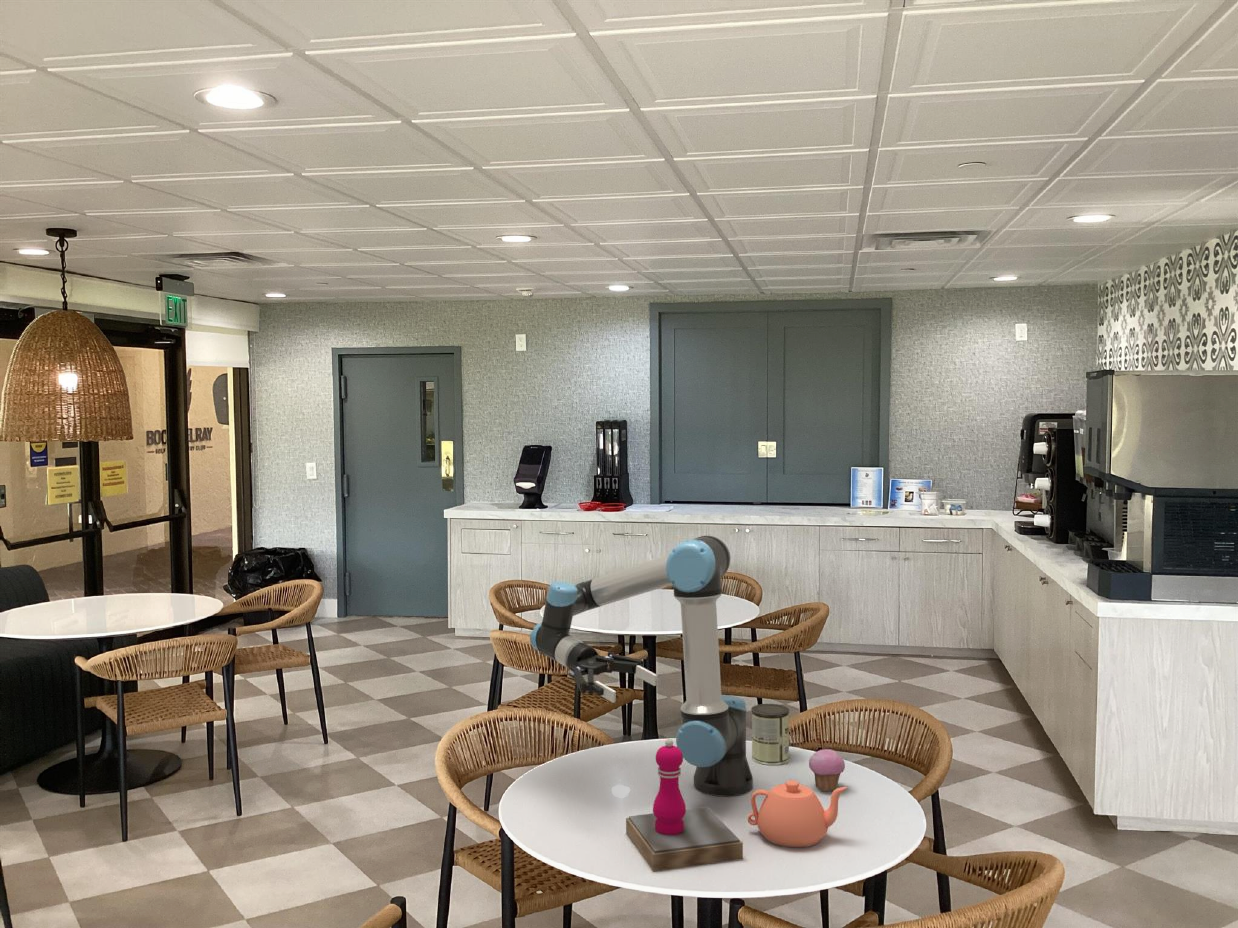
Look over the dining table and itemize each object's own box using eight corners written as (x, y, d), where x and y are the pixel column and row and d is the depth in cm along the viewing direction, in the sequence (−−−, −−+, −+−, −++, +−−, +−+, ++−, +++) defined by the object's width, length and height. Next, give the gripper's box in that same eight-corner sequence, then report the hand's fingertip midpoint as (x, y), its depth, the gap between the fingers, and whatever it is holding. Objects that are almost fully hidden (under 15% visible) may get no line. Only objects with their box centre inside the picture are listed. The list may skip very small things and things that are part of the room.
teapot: (847, 827, 226) (847, 773, 226) (847, 856, 211) (847, 798, 211) (750, 819, 231) (750, 766, 231) (744, 847, 216) (743, 791, 216)
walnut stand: (708, 822, 229) (708, 805, 229) (742, 858, 210) (742, 840, 210) (626, 832, 224) (626, 815, 224) (653, 871, 205) (653, 852, 204)
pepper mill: (689, 824, 218) (689, 735, 217) (680, 837, 211) (680, 745, 211) (658, 820, 221) (658, 732, 220) (648, 833, 214) (648, 742, 213)
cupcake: (839, 782, 254) (839, 744, 254) (848, 795, 246) (848, 755, 245) (805, 783, 254) (805, 745, 254) (812, 796, 245) (812, 756, 245)
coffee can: (750, 752, 278) (750, 702, 278) (787, 753, 277) (787, 703, 277) (752, 764, 268) (752, 713, 268) (790, 765, 267) (790, 714, 266)
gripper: (612, 656, 258) (670, 687, 243) (537, 683, 241) (595, 718, 227) (614, 630, 256) (673, 659, 241) (538, 655, 239) (597, 689, 225)
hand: (635, 688), depth 234 cm, fingers open, 13 cm apart
